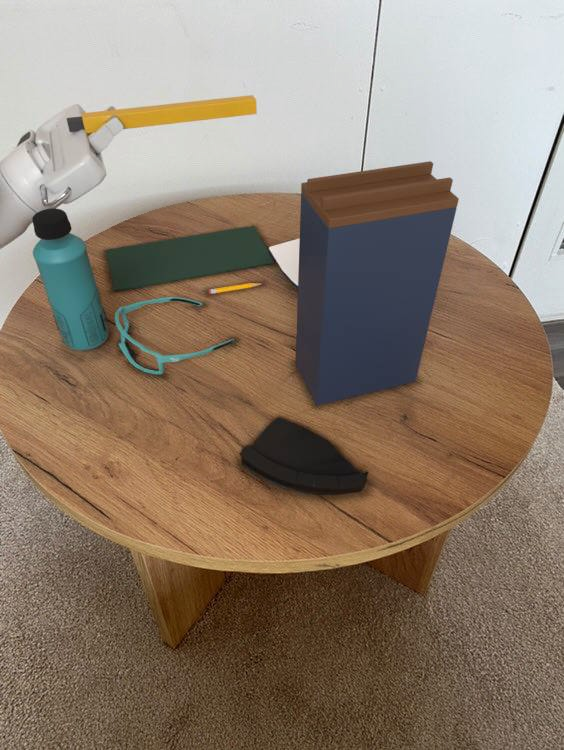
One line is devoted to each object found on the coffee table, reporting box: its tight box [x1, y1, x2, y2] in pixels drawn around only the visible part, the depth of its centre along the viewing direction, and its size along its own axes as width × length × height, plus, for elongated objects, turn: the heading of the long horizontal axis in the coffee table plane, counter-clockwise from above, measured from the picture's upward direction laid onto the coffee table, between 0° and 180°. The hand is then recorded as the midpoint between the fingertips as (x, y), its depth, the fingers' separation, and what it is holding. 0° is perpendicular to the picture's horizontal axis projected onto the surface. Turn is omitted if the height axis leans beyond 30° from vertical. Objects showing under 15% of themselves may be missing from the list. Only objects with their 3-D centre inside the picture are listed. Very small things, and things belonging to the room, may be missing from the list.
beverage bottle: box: [32, 208, 111, 351], centre depth 74 cm, size 6×7×20 cm
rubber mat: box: [105, 225, 275, 293], centre depth 97 cm, size 26×12×1 cm, turn 108°
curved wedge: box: [239, 416, 369, 496], centre depth 66 cm, size 8×14×2 cm, turn 55°
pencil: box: [208, 282, 262, 295], centre depth 91 cm, size 1×8×1 cm, turn 106°
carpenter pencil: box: [67, 94, 258, 133], centre depth 81 cm, size 26×2×2 cm, turn 108°
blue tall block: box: [295, 160, 460, 406], centre depth 68 cm, size 14×8×27 cm, turn 108°
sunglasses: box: [114, 296, 236, 376], centre depth 81 cm, size 14×15×5 cm
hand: (118, 115), depth 79 cm, fingers closed on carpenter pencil, 2 cm apart
